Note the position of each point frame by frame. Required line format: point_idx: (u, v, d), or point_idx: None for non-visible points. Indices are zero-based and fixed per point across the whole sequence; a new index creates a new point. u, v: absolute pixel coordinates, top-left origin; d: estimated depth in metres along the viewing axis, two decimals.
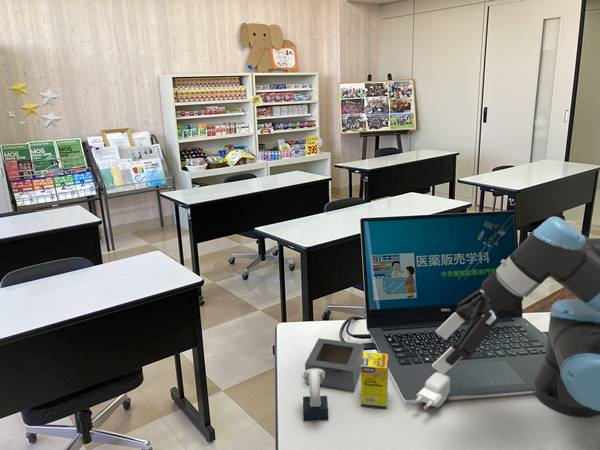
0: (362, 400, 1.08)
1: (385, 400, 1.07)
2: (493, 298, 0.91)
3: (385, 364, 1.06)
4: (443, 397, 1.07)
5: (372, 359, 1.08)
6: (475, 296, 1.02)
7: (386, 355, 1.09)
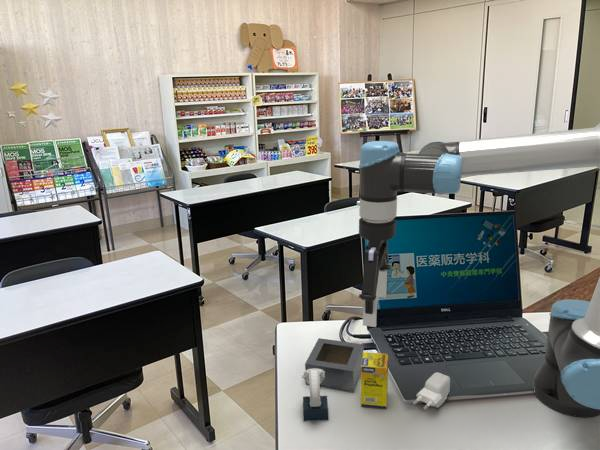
0: (362, 400, 1.08)
1: (385, 400, 1.07)
2: (367, 237, 0.95)
3: (385, 364, 1.06)
4: (443, 397, 1.07)
5: (372, 359, 1.08)
6: None
7: (386, 355, 1.09)
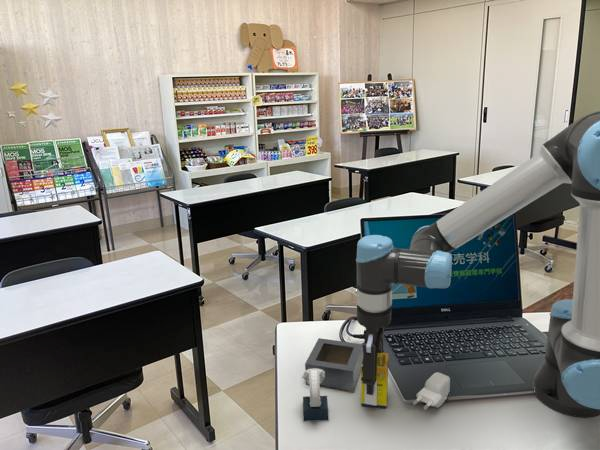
0: (362, 399, 1.08)
1: (385, 399, 1.07)
2: (364, 325, 1.02)
3: (385, 363, 1.06)
4: (443, 397, 1.07)
5: None
6: None
7: (386, 355, 1.09)
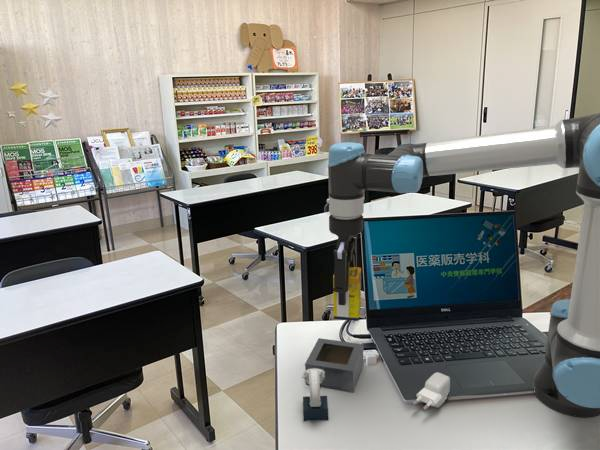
0: (334, 312, 1.08)
1: (357, 311, 1.07)
2: (336, 232, 1.02)
3: (357, 275, 1.06)
4: (443, 397, 1.07)
5: None
6: None
7: (359, 268, 1.09)
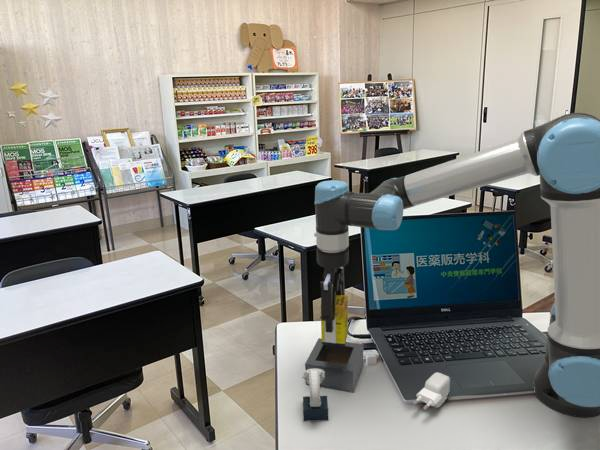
0: (322, 338, 1.15)
1: (344, 338, 1.14)
2: (322, 264, 1.08)
3: (343, 303, 1.12)
4: (443, 397, 1.07)
5: None
6: None
7: (346, 296, 1.16)
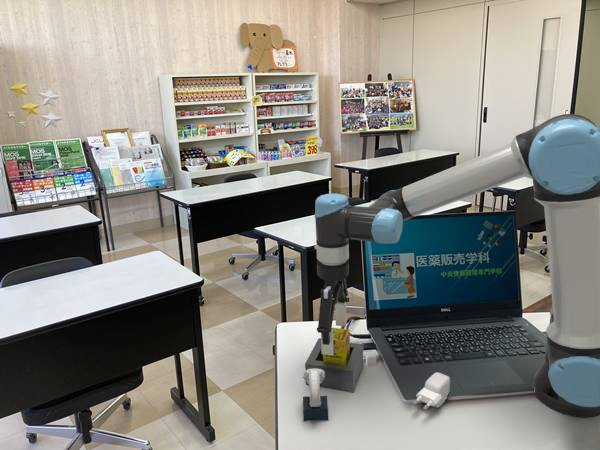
0: None
1: None
2: (323, 277, 1.09)
3: (344, 338, 1.16)
4: (443, 397, 1.07)
5: (334, 333, 1.18)
6: None
7: (347, 330, 1.19)
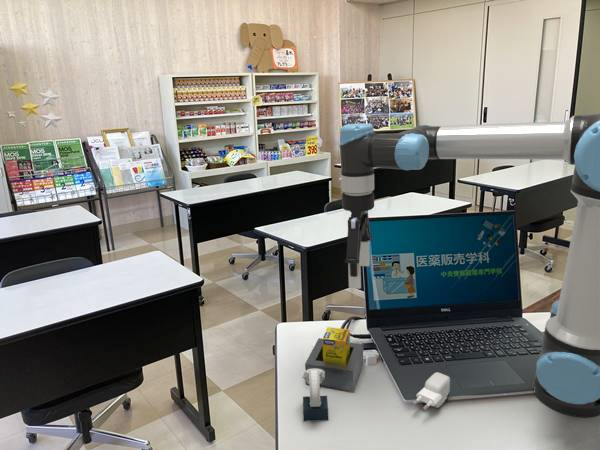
0: None
1: None
2: (349, 208, 1.08)
3: (344, 338, 1.16)
4: (443, 397, 1.07)
5: (333, 333, 1.18)
6: None
7: (347, 330, 1.19)
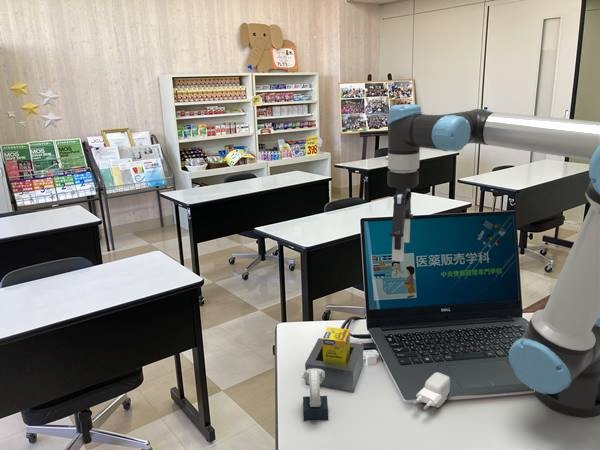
0: None
1: None
2: (395, 185, 1.14)
3: (344, 338, 1.16)
4: (443, 397, 1.07)
5: (334, 333, 1.18)
6: None
7: (347, 330, 1.19)
